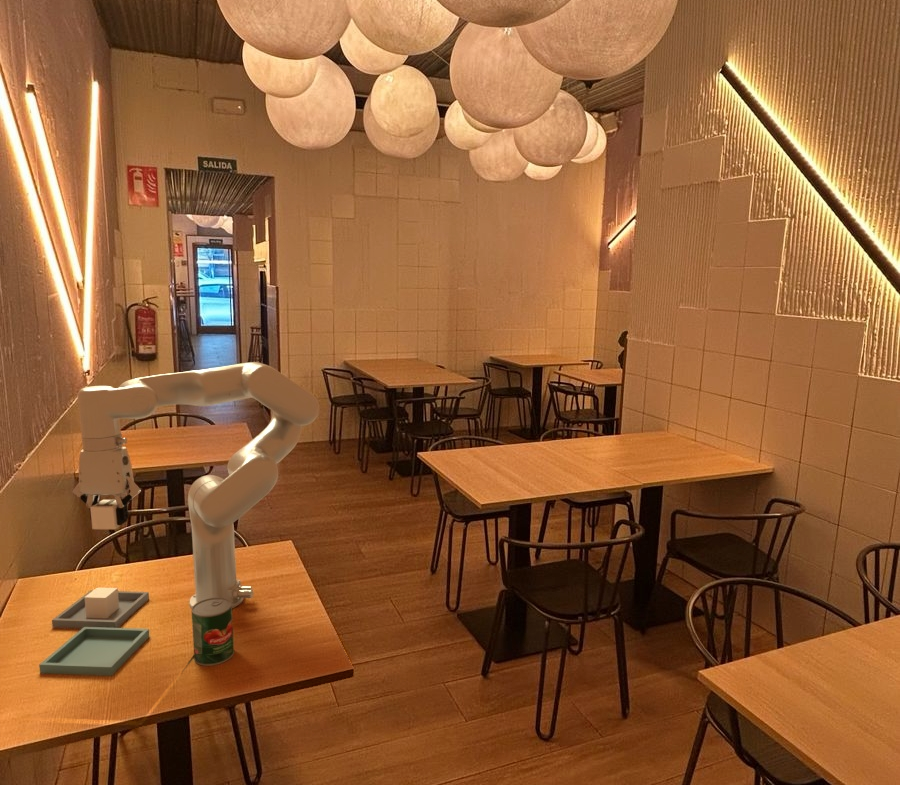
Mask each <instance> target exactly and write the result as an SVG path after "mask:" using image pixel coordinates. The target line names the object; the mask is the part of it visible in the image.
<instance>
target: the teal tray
mask: <svg viewBox="0 0 900 785" xmlns="http://www.w3.org/2000/svg"><path fill="white" fill-rule="evenodd" d="M149 638H150V629H149V628H134V627H133V628H131V627H127V628H126V627H125V628H124V627H118V628H105V627H83V628H82V629H79V630H78V631H77V632H76V633H75V634H74V635H73V636H71V637H70V638H69V639H68V640H67V641H66V642H65V643H63V644H62V645H61V646H60V647H58V648H57V649H55V650H54V652H52V653H51V654H50V655H49V656H48V657H47V658H45V659H44V660H42V662H41V663H39V673H40V674H48V675H49V674H50V675H52V674H54V675H73V676H74V675H76V676H77V675H79V676H101V677H102V676H103V677H104V676H105V677H112V676H113V675H114V674H115V673H116V672H117V671H118V670H119V669H120V668H121V667H122V666H123V665H124V664H125V663H126V662H127V661H128V659H129V658H131V656H133V655H134V654H135V653H136V652H137V650H139V648H140V647H141V646H142V645H144V643H145V642H146V641H147V640H148V639H149Z"/></svg>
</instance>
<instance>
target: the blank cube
mask: <svg viewBox="0 0 900 785" xmlns="http://www.w3.org/2000/svg"><path fill="white" fill-rule="evenodd" d="M92 590H93V591H92V592H91V593H89V594H88V595H87V596H85V597H84V598H85V609H86V618H108V617H109V616H110V615H111V614H113V613H114V612H115V611H116V610H117V609H118V608H119V598H118V591H119V590H118V588H117V587H96V588H95V589H92Z"/></svg>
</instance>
